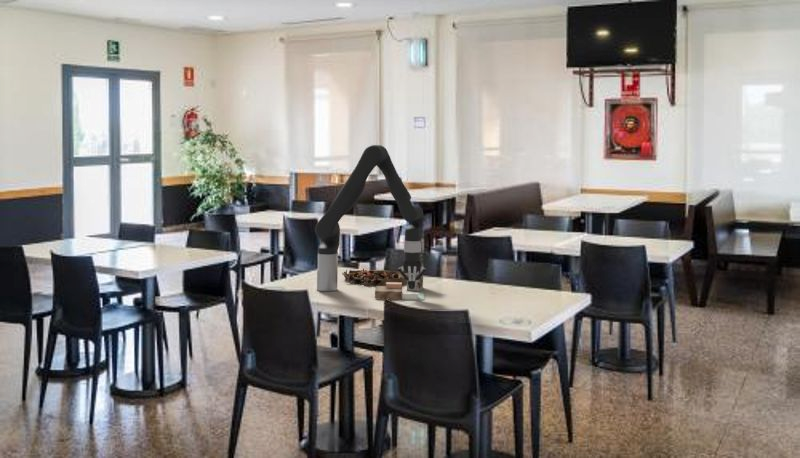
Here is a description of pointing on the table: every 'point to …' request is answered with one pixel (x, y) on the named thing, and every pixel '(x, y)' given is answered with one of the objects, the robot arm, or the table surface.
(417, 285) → the coffee box
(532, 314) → the table surface
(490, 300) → the table surface
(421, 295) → the mat
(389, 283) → the terracotta card
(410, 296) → the cream card
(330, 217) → the robot arm
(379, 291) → the deck
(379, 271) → the dried twig wreath
